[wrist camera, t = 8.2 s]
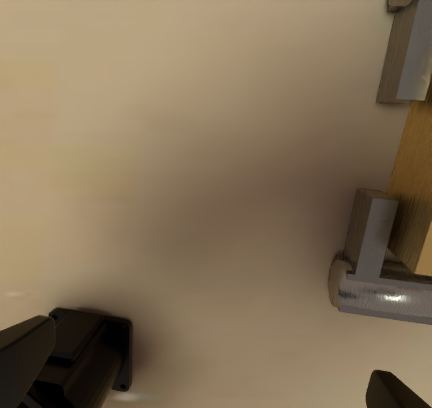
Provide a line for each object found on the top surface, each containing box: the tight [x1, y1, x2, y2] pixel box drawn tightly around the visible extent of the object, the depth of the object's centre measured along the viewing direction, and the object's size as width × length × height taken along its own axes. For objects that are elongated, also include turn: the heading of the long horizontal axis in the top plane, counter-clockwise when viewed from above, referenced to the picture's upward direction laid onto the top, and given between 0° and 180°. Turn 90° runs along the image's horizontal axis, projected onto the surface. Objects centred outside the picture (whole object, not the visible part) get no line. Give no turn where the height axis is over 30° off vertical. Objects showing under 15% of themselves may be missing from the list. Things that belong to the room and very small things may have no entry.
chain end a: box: [328, 189, 432, 325], centre depth 17 cm, size 7×8×3 cm
